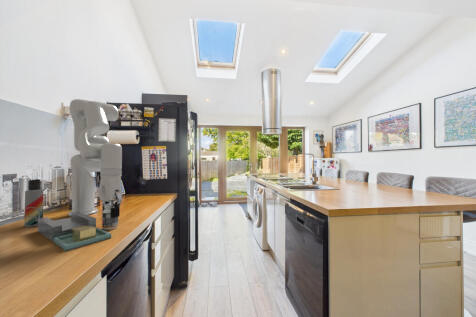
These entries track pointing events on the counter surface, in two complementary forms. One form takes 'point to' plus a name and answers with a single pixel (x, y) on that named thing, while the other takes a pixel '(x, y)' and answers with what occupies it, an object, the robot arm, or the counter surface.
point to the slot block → (64, 225)
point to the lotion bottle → (33, 203)
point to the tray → (69, 243)
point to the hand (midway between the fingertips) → (110, 215)
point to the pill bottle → (108, 218)
